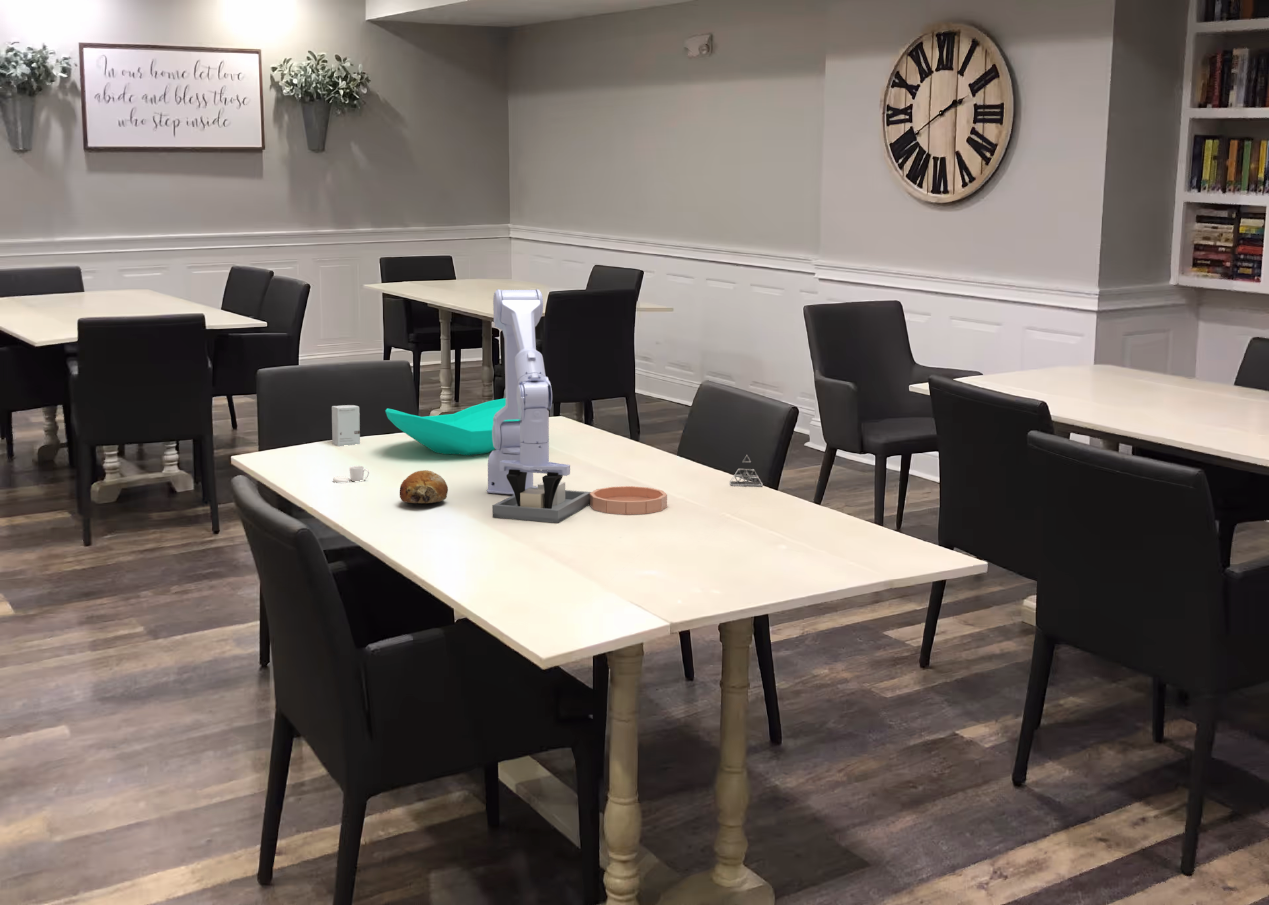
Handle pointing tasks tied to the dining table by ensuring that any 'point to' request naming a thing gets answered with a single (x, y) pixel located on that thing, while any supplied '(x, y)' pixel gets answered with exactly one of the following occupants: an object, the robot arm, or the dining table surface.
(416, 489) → the bread roll
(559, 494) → the greyish beige cube
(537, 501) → the cream matte cube
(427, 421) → the table top decor
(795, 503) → the dining table surface
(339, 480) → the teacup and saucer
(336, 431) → the skincare box
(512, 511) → the parts tray
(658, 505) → the bowl
